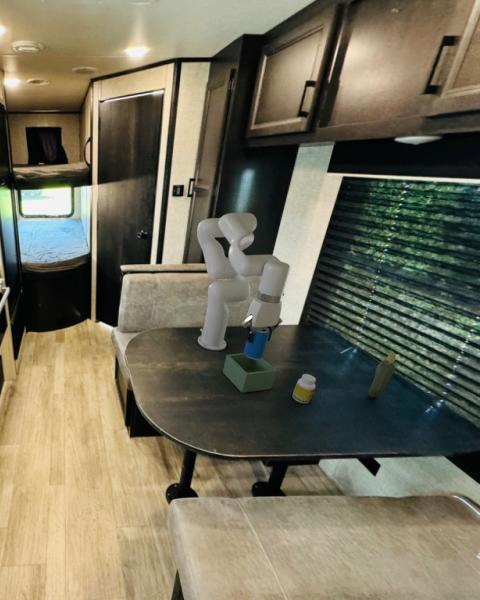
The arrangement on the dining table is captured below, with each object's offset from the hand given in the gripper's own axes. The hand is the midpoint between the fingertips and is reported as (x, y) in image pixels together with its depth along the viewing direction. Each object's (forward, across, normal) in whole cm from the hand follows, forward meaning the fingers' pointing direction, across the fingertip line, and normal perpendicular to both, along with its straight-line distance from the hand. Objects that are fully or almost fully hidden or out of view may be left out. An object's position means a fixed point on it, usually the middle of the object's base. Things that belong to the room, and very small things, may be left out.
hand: (257, 339), depth 116 cm
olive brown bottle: (+19, -39, +16) cm, 47 cm away
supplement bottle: (+19, -13, +13) cm, 27 cm away
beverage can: (+7, 0, 0) cm, 7 cm away
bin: (+19, 0, 0) cm, 19 cm away
